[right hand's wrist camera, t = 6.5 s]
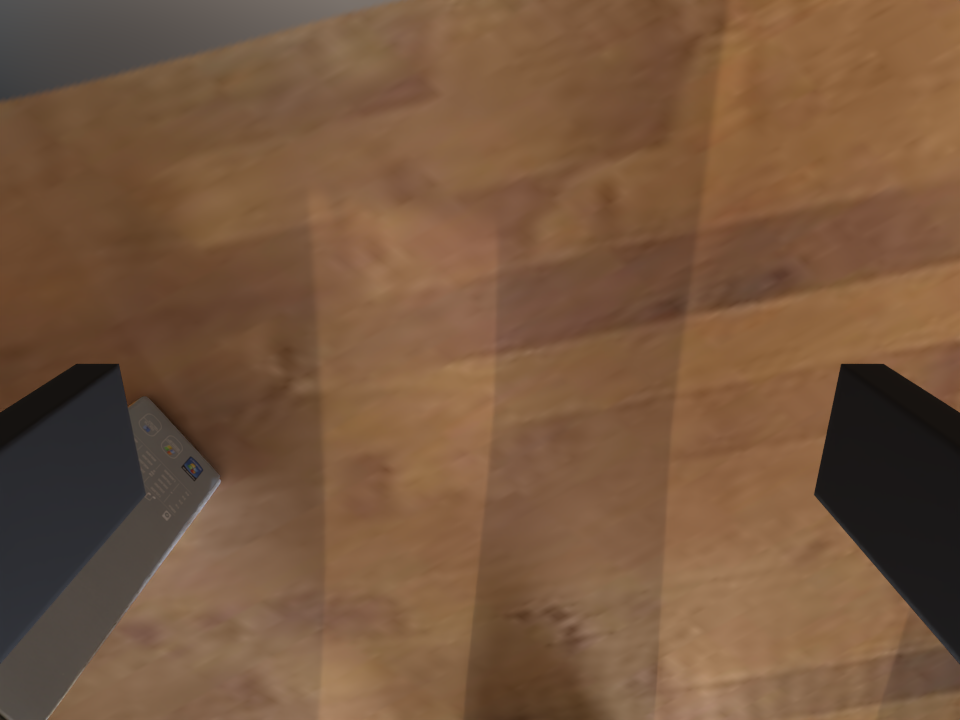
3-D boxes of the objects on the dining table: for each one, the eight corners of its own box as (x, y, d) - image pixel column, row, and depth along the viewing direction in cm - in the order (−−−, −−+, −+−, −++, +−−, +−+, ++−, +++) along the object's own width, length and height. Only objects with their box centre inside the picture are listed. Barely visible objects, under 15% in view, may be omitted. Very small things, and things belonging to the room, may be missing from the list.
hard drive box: (146, 388, 42) (-120, 615, 23) (227, 476, 44) (43, 746, 26) (-22, 504, 45) (-375, 785, 26) (61, 581, 47) (-210, 889, 29)
